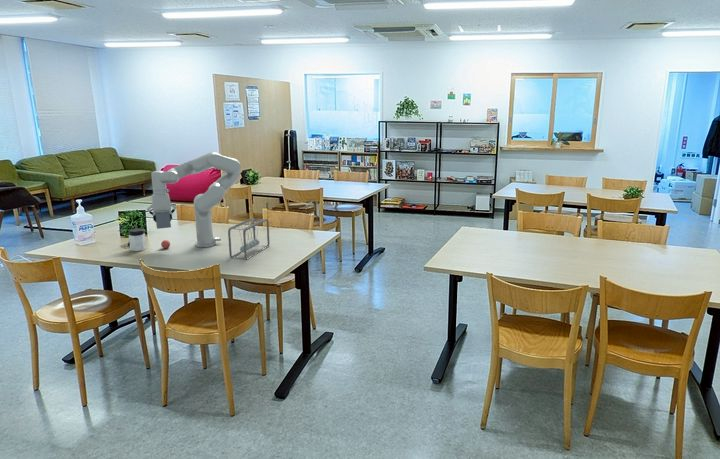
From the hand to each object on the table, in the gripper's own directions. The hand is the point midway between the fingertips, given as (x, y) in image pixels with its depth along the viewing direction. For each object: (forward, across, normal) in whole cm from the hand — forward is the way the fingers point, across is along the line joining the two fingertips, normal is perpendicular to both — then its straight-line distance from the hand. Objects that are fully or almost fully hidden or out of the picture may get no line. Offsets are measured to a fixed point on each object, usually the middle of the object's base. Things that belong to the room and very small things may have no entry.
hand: (163, 221), depth 297 cm
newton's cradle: (+17, -45, +29) cm, 56 cm away
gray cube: (+3, 0, 0) cm, 3 cm away
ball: (+14, 0, 0) cm, 14 cm away
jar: (+17, +15, -4) cm, 23 cm away
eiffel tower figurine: (+18, +19, -16) cm, 30 cm away
